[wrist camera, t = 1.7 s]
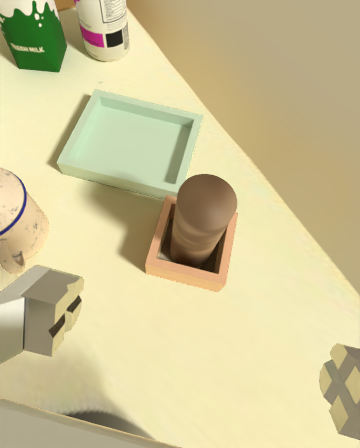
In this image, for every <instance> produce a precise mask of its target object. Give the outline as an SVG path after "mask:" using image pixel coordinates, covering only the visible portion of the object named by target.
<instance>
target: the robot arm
mask: <svg viewBox="0 0 360 448" xmlns="http://www.w3.org/2000/svg"><path fill="white" fill-rule="evenodd" d="M83 285H84V279H83V277H80V276H77V275H73V274H70V273H66V272H63V271H59V270H55V269H52V268H48V267H44V266H40V265H35V266H33V267H32V268H31V269H29V270H28V271H27V272H26V273H24V274H23V275H22V276H20V277H19V278H18V279H17V280H15V281H14V282H13V283H11V284H10V285H9V286H8V287H6V288H5V289H4V290H2V291H0V364H1V363H3V362H5V361H7V360H8V359H10V358H12V357H14V356H16V355H17V354H19V353H21V352H22V351H23V350H25V351H30V352H34V353H38V354H42V355H47V356H51V357H52V356H53V354H54V353H55V351H56V350H57V348H58V347H59V346H60V344H61V343H62V341H63V340H64V332H67V331H69V330H71V329H72V327H73V326H74V324H75V322H76V320H77V318H78V316H79V313H80V309H81V303H82V300H81V298H80V296H79V294H80V292H81V291H82V290H83ZM330 355H331V359H332V360H330V361H328V362H326V363H324V365H323V367H322V369H321V371H320V379H319V383H320V389H321V392H322V394H323V397H324V398H325V399H326V400H327V401H328V402H329V403H330V404H331V407H330V410H329V412H330V414H331V417H332V419H333V421H334V424H335V426H336V429H337V431H338V434H341V435H345V436H348V437H351V438H355V439H358V440H360V349H359V348H354V347H350V346H346V345H342V344H338V343H337V344H336V345H335V346H333V348H332V350H331V351H330ZM0 448H181V447H177V446H173V445H170V444H166V443H162V442H159V441H155V440H152V439H148V438H144V437H141V436H137V435H133V434H129V433H126V432H122V431H119V430H115V429H111V428H108V427H104V426H100V425H97V424H93V423H90V422H86V421H82V420H78V419H75V418H71V417H68V416H64V415H61V414H57V413H53V412H50V411H46V410H42V409H39V408H35V407H31V406H28V405H24V404H20V403H17V402H13V401H10V400H6V399H2V398H0Z"/></svg>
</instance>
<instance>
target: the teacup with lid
mask: <svg viewBox="0 0 360 448" xmlns="http://www.w3.org/2000/svg"><path fill="white" fill-rule="evenodd" d="M48 233H49V223H48V219H47V217H46V215H45V214H44V212H43V211H42V210H41V209H40V207H39V206H38V205H37V204H36V202H35V201H34V200H33V199H32V197H31V196H30V195H29V194H28V192H27V191H26V189H25V186H24V184H23V183H22V181H21V180H20V179H19V178H18V177H17V176H16V175H15V174H13V173H12V172H10V171H7V170H5V169H3V168H0V263H1V265H2V266H3V267H4V269H5V270H6V271H8V272H9V273H11V274H17V273H19V272H22V271H23V270H24V268H25V260H26V259H28V258H30V257H31V256H33V255H34V254H36V253H37V252H38V251H39V250H40V249H41V248H42V246H43V245H44V243H45V242H46V239H47V237H48Z"/></svg>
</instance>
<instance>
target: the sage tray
mask: <svg viewBox="0 0 360 448" xmlns="http://www.w3.org/2000/svg"><path fill="white" fill-rule="evenodd" d="M202 119H203V115H199V114H195V113H191V112H187V111H183V110H178V109H174V108H170V107H166V106H162V105H158V104H154V103H150V102H146V101H142V100H138V99H134V98H130V97H126V96H121V95H117V94H113V93H109V92H105V91H101V90H97V89H95V90H94V92H93V94H92V96H91V97H90V99H89V101H88V103H87V105H86V107H85V109H84V111H83V113H82V115H81V116H80V118H79V120H78V122H77V124H76V126H75V128H74V130H73V132H72V133H71V135H70V137H69V139H68V141H67V143H66V145H65V147H64V149H63V151H62V152H61V154H60V156H59V158H58V160H57V162H56V163H57V165H58V166H59V168H60V170H61V172H62V174H65V175H69V176H73V177H77V178H81V179H85V180H89V181H93V182H97V183H101V184H105V185H109V186H113V187H117V188H121V189H125V190H128V191H132V192H136V193H140V194H144V195H148V196H152V197H156V198H160V199H164V200H165V197H166V195H169V196H173V197H177V194H178V190H179V188H180V186H181V185H182V184H183V183H184V182H185V181H186V179H187V176H188V172H189V168H190V165H191V161H192V158H193V154H194V150H195V147H196V143H197V139H198V136H199V132H200V129H201V124H202Z"/></svg>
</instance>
